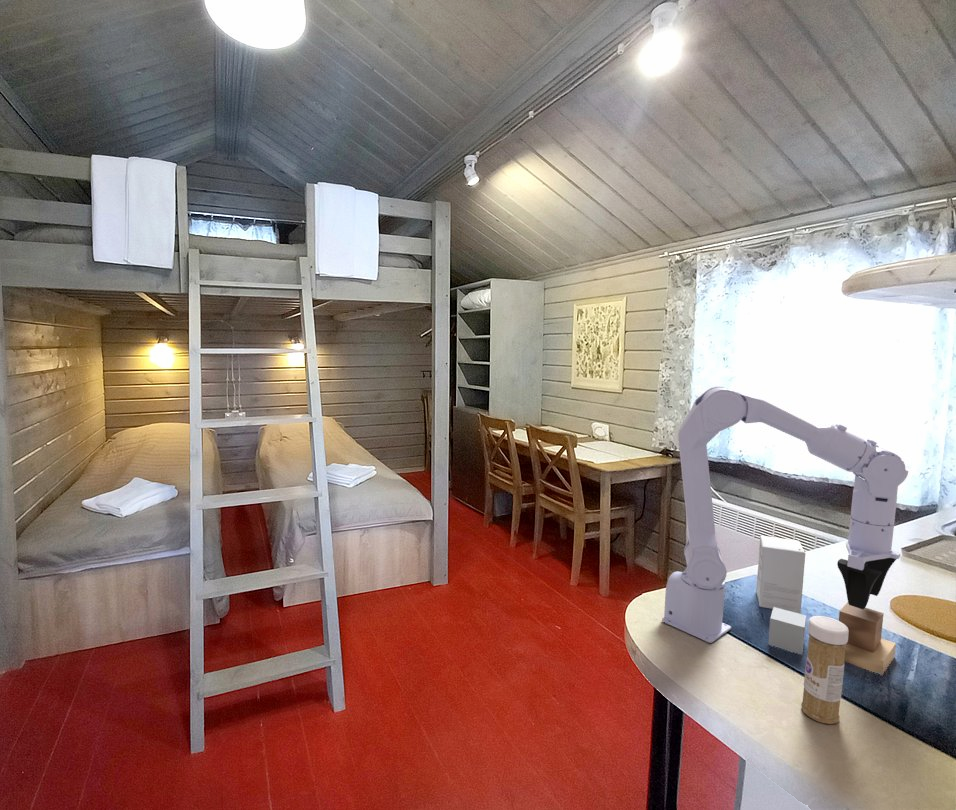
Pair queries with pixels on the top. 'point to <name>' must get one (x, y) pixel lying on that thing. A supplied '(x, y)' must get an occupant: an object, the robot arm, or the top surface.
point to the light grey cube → (787, 630)
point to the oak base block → (871, 656)
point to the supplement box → (780, 573)
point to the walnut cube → (862, 626)
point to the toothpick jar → (824, 669)
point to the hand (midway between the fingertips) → (863, 599)
